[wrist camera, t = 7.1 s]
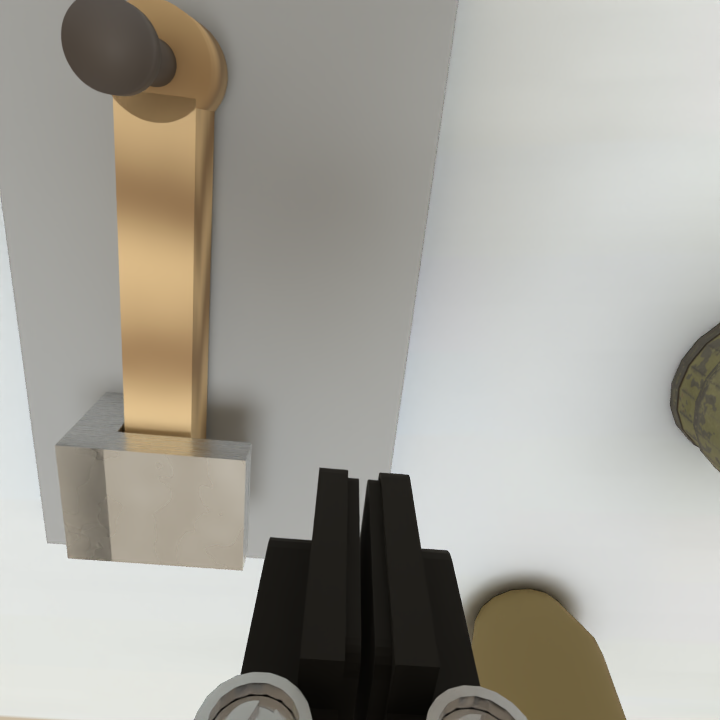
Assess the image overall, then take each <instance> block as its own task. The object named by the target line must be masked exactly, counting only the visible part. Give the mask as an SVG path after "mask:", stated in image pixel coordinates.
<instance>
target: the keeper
mask: <svg viewBox="0 0 720 720" xmlns="http://www.w3.org/2000/svg"><path fill="white" fill-rule="evenodd" d="M251 449H252V443H247V442H235V441H223V440H211V439H199V438H186V437H174V436H162V435H150V434H138V433H125V423H124V395H123V393H116V392H106V393H105V394H104V395H103V396H102V397H101V398H100V399H99V400H98V401H97V402H96V403H95V404H94V405H93V406H92V407H91V408H90V409H89V410H88V411H87V412H86V413H85V414H84V416H83V417H82V418H81V419H80V420H79V421H78V422H77V423H76V424H75V425H74V426H73V427H72V428H71V429H70V430H69V431H68V432H67V433H66V434H65V435H64V436H63V437H62V438H61V439H60V440H59V442H58V443H57V444H56V445H55V452H56V461H57V469H58V478H59V486H60V495H61V503H62V512H63V520H64V529H65V537H66V545H67V554H68V558H72V559H86V560H100V561H115V562H129V563H143V564H157V565H171V566H186V567H200V568H214V569H228V570H242V571H243V567H244V563H245V559H246V555H247V551H248V537H249V508H250V478H251Z"/></svg>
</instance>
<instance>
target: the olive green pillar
mask: <svg viewBox="0 0 720 720" xmlns="http://www.w3.org/2000/svg"><path fill="white" fill-rule="evenodd" d="M670 406H671V410H672V413H673V416H674V419H675V423H676V425H677V426H678V428H679V429H680V430H681V431H682V432H683V433H684V435H685V436H686V437H687V438H688V439H689V440H690V441H691V442H692V443H693V444H694V445H695V446H697V447H699V448H700V451H701V452H702V453H703V454H704V455H705V457H706V458H707V459H708V460H709V461H710V462H711V464H712V465H713V466H714V467H715V468H716V469H717V470H718V471H719V472H720V324H718V325H717V326H716V327H714V328H713V329H712V330H710V331H709V332H708V333H706V334H705V335H704V336H702V337H701V338H700V339H698V341H697V342H696V343H695V344H694V346H693V347H692V348H691V349H690V351H689V352H688V353H687V354H686V356H685V357H684V358H683V359H682V361H681V363H680V365H679V368H678V370H677V372H676V375H675V377H674V380H673V382H672V389H671V401H670Z"/></svg>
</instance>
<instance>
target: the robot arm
mask: <svg viewBox="0 0 720 720" xmlns="http://www.w3.org/2000/svg"><path fill="white" fill-rule="evenodd" d="M194 720H527V718H526V716H525V715H524V714H523V713H522V712H521V711H520V710H519V709H518V708H517V707H516V706H515V705H514V704H513V703H512V702H511V701H509V700H507V699H506V698H504V697H503V696H501V695H500V694H498V693H497V692H494V691H491V690H488V689H486V688H483V687H480V682H479V678H478V673H477V669H476V664H475V660H474V656H473V651H472V647H471V642H470V638H469V633H468V629H467V625H466V620H465V616H464V611H463V607H462V602H461V598H460V594H459V589H458V585H457V580H456V576H455V571H454V567H453V562H452V559H451V556H450V553H449V552H448V551H447V550H434V549H421V545H420V539H419V532H418V526H417V520H416V513H415V507H414V501H413V494H412V488H411V482H410V477H409V475H405V474H393V473H381V472H380V473H379V476H378V480H370V479H368V481H367V486H366V494H365V502H364V509H363V517H362V525H361V532H360V507H359V479H358V478H348V470H344V469H332V468H320V467H319V476H318V486H317V495H316V505H315V515H314V524H313V534H312V540H302V539H289V538H276V537H270V538H269V541H268V546H267V550H266V555H265V560H264V565H263V570H262V574H261V579H260V584H259V589H258V594H257V598H256V603H255V608H254V613H253V618H252V622H251V627H250V632H249V637H248V642H247V646H246V651H245V656H244V661H243V666H242V671H241V675H237V676H235V677H233V678H231V679H229V680H227V681H225V682H224V683H222V684H220V685H219V686H218V687H217V688H216V689H215V690H214V691H213V692H211V693H210V694H209V695H208V696H207V697H206V699H205V701H204V702H203V704H202V705H201V707H200V709H199V710H198V712H197V714H196V716H195V719H194Z"/></svg>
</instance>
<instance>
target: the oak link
mask: <svg viewBox="0 0 720 720" xmlns="http://www.w3.org/2000/svg"><path fill="white" fill-rule="evenodd" d="M61 42H62V48H63V52H64V55H65V58H66V60H67V62H68V64H69V66H70V67H71V69H72V71H73V72H74V73H75V74H76V76H77V77H78V78H79V79H80V80H81V81H82V82H84V83H85V84H86V85H87V86H89V87H90V88H92V89H94V90H96V91H98V92H101V93H105V94H110V95H112V97H113V117H114V145H115V173H116V201H117V228H118V256H119V284H120V312H121V340H122V367H123V395H124V423H125V433H138V434H150V435H162V436H174V437H186V438H199V439H206V421H207V383H208V344H209V306H210V268H211V229H212V191H213V153H214V115H215V111H216V110H217V108H218V107H219V105H220V104H221V102H222V100H223V98H224V95H225V92H226V88H227V81H228V70H227V64H226V60H225V56H224V54H223V51H222V49H221V47H220V45H219V43H218V42H217V40H216V39H215V37H214V36H213V35H212V34H211V33H210V31H209V30H207V29H206V28H205V27H204V26H203V25H201V24H200V23H199V22H197V21H196V20H195V19H193V18H192V17H191V16H189V15H188V14H187V13H185V12H184V11H182V10H181V9H180V8H178V7H177V6H175V5H173V4H172V3H170V2H168V1H165V0H128V1H125V0H76V1H74V2H73V3H72V5H71V6H70V7H69V8H68V10H67V12H66V14H65V16H64V19H63V22H62V27H61Z"/></svg>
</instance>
